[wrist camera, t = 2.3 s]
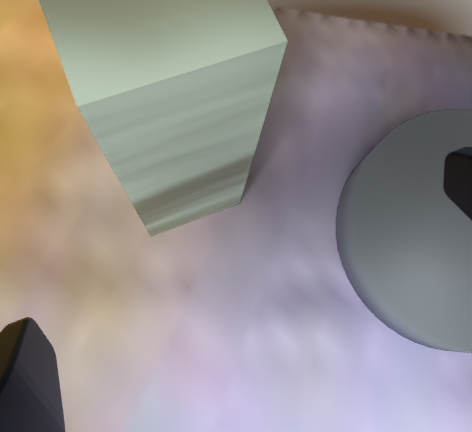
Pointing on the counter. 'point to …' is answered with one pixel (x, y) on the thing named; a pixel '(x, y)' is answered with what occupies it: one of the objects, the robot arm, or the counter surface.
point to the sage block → (172, 95)
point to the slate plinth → (411, 233)
